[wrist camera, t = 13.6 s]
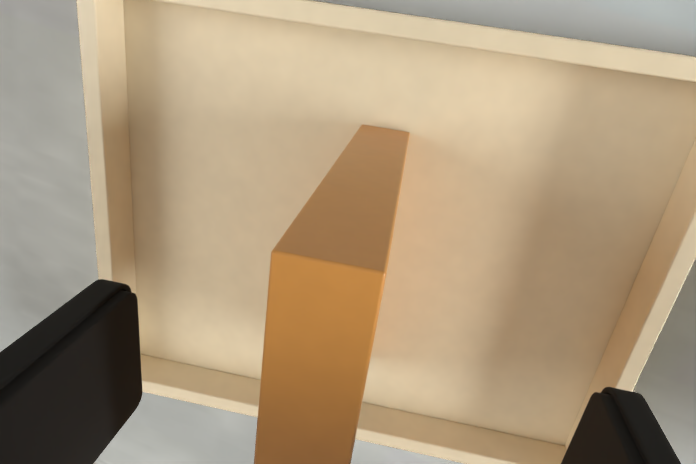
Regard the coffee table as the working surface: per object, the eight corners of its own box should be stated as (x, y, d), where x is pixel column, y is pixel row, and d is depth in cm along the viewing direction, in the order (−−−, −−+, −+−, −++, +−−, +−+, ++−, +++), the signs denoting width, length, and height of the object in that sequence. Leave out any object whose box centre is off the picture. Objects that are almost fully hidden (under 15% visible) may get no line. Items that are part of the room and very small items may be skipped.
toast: (361, 123, 16) (269, 250, 7) (410, 131, 16) (387, 272, 6) (328, 348, 19) (239, 635, 10) (367, 356, 19) (314, 654, 10)
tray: (114, -27, 16) (72, -35, 14) (738, 64, 14) (786, 69, 12) (133, 354, 22) (106, 384, 20) (570, 449, 20) (585, 491, 18)
